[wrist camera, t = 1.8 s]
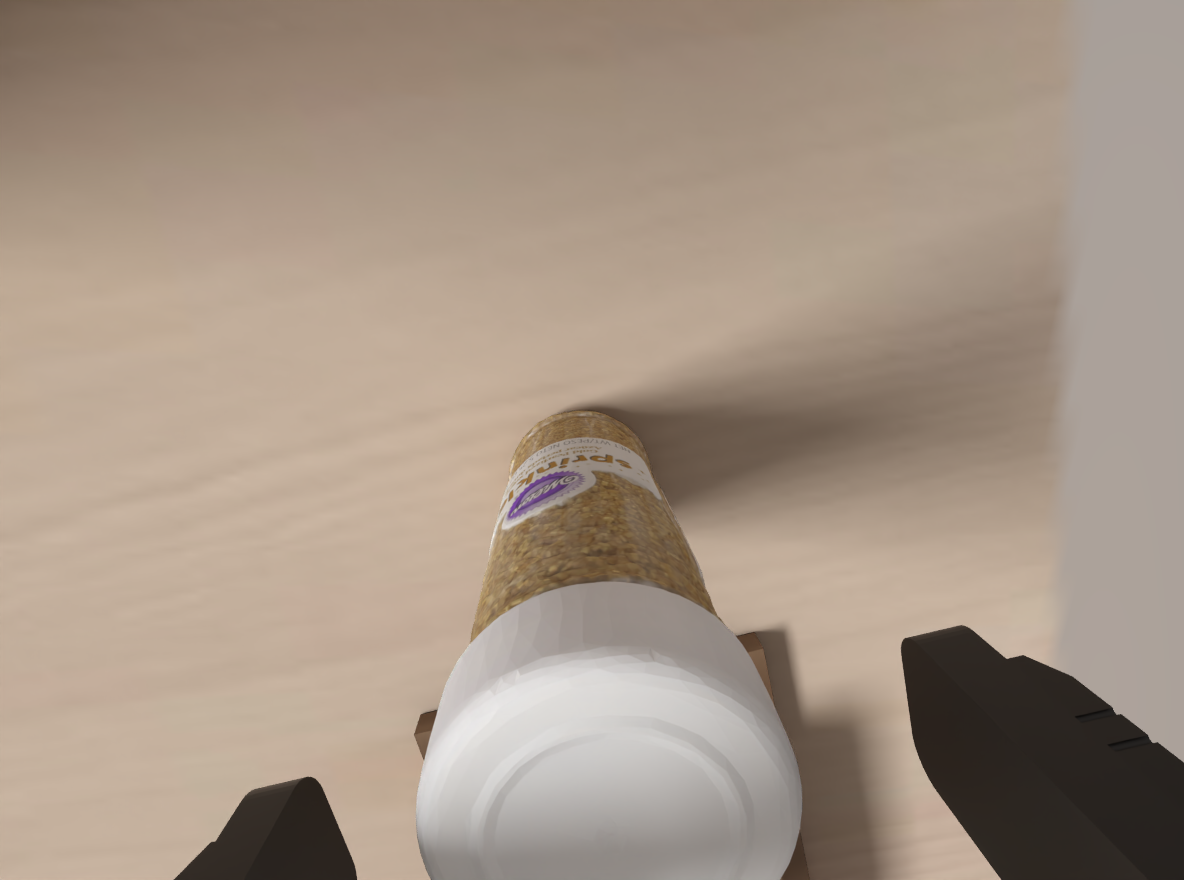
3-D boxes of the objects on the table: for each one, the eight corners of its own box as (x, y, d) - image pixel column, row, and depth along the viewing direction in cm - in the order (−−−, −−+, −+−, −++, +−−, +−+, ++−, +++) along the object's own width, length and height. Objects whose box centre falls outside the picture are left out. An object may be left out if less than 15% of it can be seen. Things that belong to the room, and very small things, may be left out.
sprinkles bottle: (583, 377, 19) (630, 576, 6) (679, 479, 20) (896, 840, 7) (478, 475, 20) (317, 846, 7) (576, 570, 21) (601, 1056, 8)
